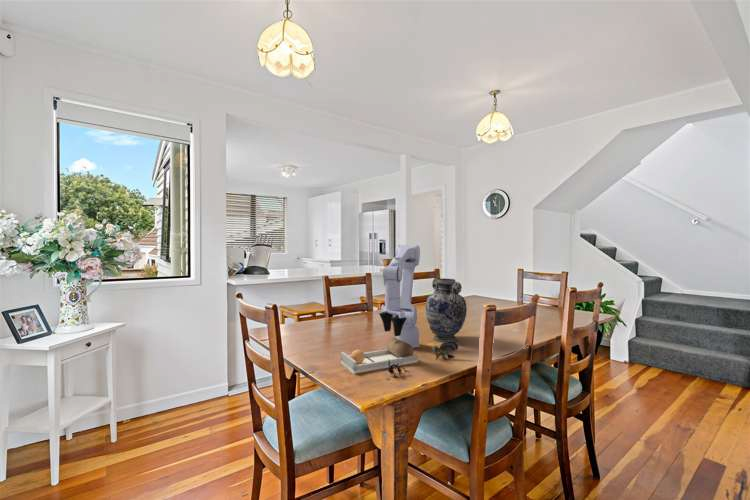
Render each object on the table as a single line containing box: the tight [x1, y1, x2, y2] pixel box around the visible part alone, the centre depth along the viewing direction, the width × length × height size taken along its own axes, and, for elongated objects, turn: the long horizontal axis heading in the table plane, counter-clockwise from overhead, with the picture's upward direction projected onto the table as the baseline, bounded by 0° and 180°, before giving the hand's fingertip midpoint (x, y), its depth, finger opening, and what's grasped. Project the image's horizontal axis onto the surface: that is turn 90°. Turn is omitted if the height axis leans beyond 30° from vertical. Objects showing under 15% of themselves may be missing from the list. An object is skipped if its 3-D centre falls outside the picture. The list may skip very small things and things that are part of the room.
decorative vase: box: [425, 278, 468, 343], centre depth 164 cm, size 21×19×28 cm
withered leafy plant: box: [431, 342, 459, 361], centre depth 138 cm, size 8×7×9 cm
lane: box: [340, 348, 418, 375], centre depth 132 cm, size 26×12×4 cm, turn 117°
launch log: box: [386, 337, 415, 358], centre depth 136 cm, size 6×10×6 cm, turn 27°
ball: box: [350, 349, 365, 364], centre depth 128 cm, size 5×5×5 cm
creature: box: [387, 359, 411, 380], centre depth 120 cm, size 8×5×8 cm
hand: (392, 333), depth 135 cm, fingers open, 7 cm apart
